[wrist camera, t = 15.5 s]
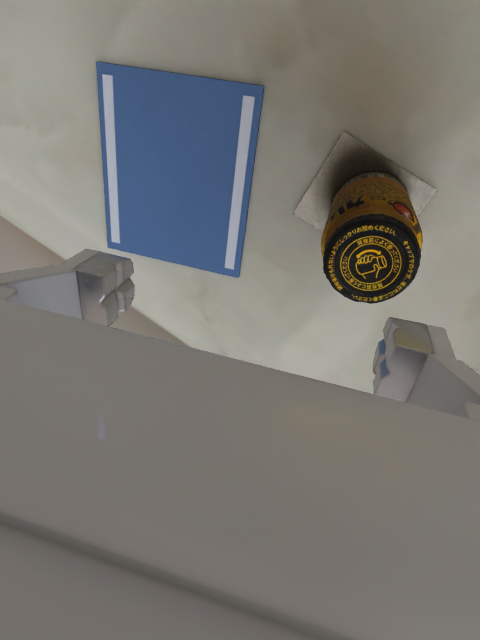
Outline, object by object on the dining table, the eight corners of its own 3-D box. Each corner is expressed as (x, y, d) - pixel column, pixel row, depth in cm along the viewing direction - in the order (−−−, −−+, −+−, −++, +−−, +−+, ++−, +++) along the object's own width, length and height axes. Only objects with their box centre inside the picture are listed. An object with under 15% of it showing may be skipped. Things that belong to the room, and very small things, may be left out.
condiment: (376, 264, 34) (380, 337, 24) (293, 213, 33) (262, 264, 23) (437, 190, 30) (474, 239, 20) (343, 130, 29) (332, 149, 19)
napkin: (98, 61, 32) (95, 61, 31) (264, 86, 29) (263, 85, 29) (109, 246, 40) (107, 247, 40) (239, 276, 38) (238, 278, 38)
